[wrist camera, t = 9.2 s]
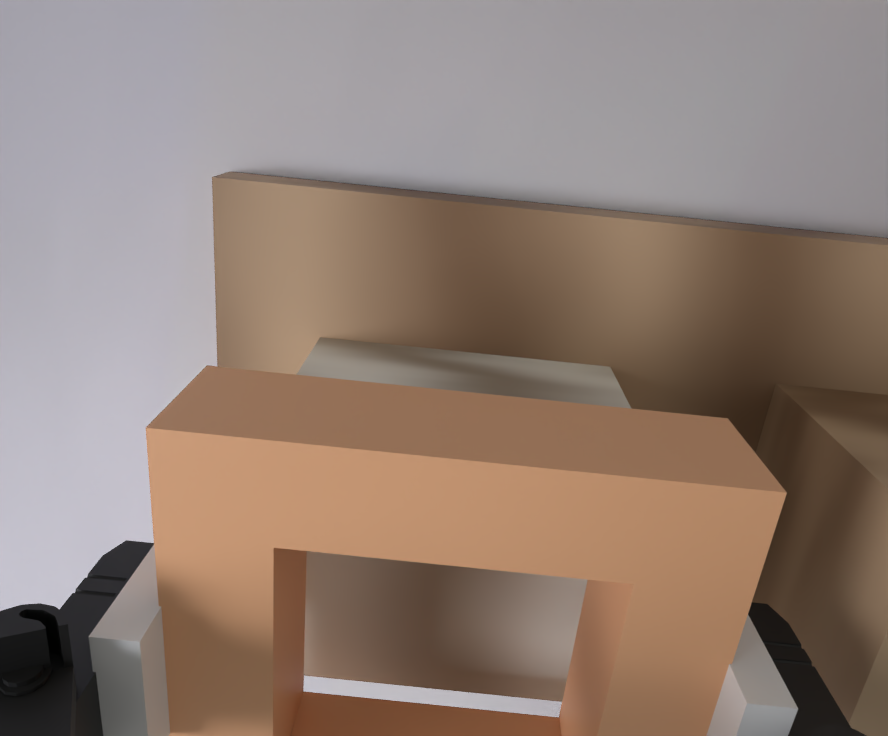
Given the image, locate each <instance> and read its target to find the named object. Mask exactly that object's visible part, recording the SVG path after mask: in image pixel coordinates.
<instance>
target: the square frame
mask: <svg viewBox="0 0 888 736" xmlns="http://www.w3.org/2000/svg"><path fill="white" fill-rule="evenodd" d="M146 438H147V452H148V465H149V479H150V493H151V507H152V521H153V534H154V548H155V562H156V576H157V590H158V603H159V606H161V610H162V624H163V638H164V652H165V666H166V680H167V695H168V709H169V723H170V734H169V736H706V735H707V732H708V729H709V726H710V723H711V720H712V717H713V714H714V710H715V707H716V704H717V701H718V698H719V695H720V692H721V688H722V685H723V682H724V679H725V676H726V673H727V670H728V666H729V664H732V662H733V659H734V656H735V653H736V650H737V647H738V644H739V641H740V637H741V634H742V631H743V628H744V625H745V622H746V619H747V616H748V612H749V609H750V606H751V603H752V600H753V597H754V594H755V591H756V588H757V584H758V581H759V578H760V575H761V572H762V569H763V566H764V563H765V559H766V556H767V553H768V550H769V547H770V544H771V541H772V538H773V535H774V531H775V528H776V525H777V522H778V519H779V516H780V513H781V510H782V506H783V503H784V500H785V497H786V494H787V492H786V491H785V490H784V488H783V487H782V486H781V485H780V483H779V482H778V481H777V480H776V478H775V477H774V476H773V475H772V473H771V472H770V471H769V470H768V468H767V467H766V466H765V465H764V463H763V462H762V461H761V460H760V458H759V457H758V456H757V454H756V453H755V452H754V451H753V449H752V448H751V447H750V446H749V444H748V443H747V442H746V441H745V439H744V438H743V437H742V436H741V434H740V433H739V432H738V431H737V429H736V428H735V427H734V426H733V424H732V423H731V422H730V421H729V419H728V418H720V417H710V416H700V415H690V414H680V413H670V412H660V411H651V410H641V409H631V408H621V407H611V406H601V405H591V404H581V403H572V402H562V401H552V400H542V399H532V398H522V397H512V396H502V395H493V394H483V393H473V392H463V391H453V390H443V389H433V388H423V387H414V386H404V385H394V384H384V383H374V382H364V381H354V380H345V379H335V378H325V377H315V376H305V375H295V374H285V373H275V372H266V371H256V370H246V369H236V368H226V367H216V366H206V367H205V368H204V369H203V370H202V371H201V372H200V373H199V374H198V375H197V376H196V377H195V378H194V379H193V380H192V381H191V382H190V383H189V384H188V385H187V386H186V387H185V388H184V389H183V390H182V391H181V392H180V393H179V395H178V396H177V397H176V398H175V399H174V400H173V401H172V402H171V403H170V404H169V405H168V406H167V407H166V408H165V409H164V410H163V411H162V412H161V413H160V414H159V415H158V416H157V417H156V418H155V419H154V420H153V421H152V422H151V423H150V424H149V425H148V426H147V427H146ZM307 551H311V552H321V553H331V554H340V555H350V556H360V557H370V558H380V559H390V560H400V561H409V562H419V563H429V564H439V565H449V566H459V567H469V568H478V569H488V570H498V571H508V572H518V573H528V574H538V575H547V576H557V577H567V578H577V579H587V585H586V590H585V595H584V600H583V604H582V609H581V614H580V619H579V624H578V628H577V633H576V638H575V643H574V648H573V652H572V657H571V662H570V667H569V671H568V676H567V681H566V686H565V691H564V695H563V700H562V705H561V710H560V715H559V718H558V717H548V716H538V715H528V714H518V713H509V712H499V711H489V710H479V709H469V708H459V707H449V706H440V705H430V704H420V703H410V702H400V701H390V700H381V699H371V698H361V697H351V696H341V695H331V694H321V693H312V692H303V681H304V641H305V601H306V560H307Z"/></svg>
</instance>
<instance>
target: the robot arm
mask: <svg viewBox="0 0 888 736" xmlns="http://www.w3.org/2000/svg"><path fill="white" fill-rule="evenodd" d="M169 734H170V723H169V709H168V695H167V680H166V666H165V652H164V638H163V624H162V610H161V606H159V603H158V590H157V576H156V562H155V548H154V543H146V542H136V541H125V542H123V543H122V544H120V545H119V546H117V547H115V548H114V549H112V550H111V551H109V552H108V553H106V554H105V555H103V556H102V557H101V559H100V560H99V561H98V562H97V564H96V565H95V566H94V567H93V569H92V570H91V571H90V572H89V574H88V577H87V578H85V579H84V580H83V581H82V582H81V584H80V585H79V586H78V587H77V589H76V592H75V593H73V594H72V595H71V596H70V597H69V598H68V600H67V601H66V602H65V603H64V605H63V606H62V607H61V608H60V610H59V609H58V608H56V607H54V606H50V605H45V604H27V605H19V606H16V607H13V608H9V609H6V610H2V611H0V736H169ZM706 736H866V735H865V734H863V733H861V732H859V731H857V730H855V729H852V728H851V726H850V725H849V723H848V721H847V720H846V718H845V716H844V715H843V713H842V711H841V710H840V708H839V706H838V705H837V703H836V701H835V700H834V698H833V696H832V695H831V693H830V691H829V690H828V688H827V686H826V685H825V683H824V681H823V680H822V678H821V676H820V675H819V673H818V671H817V670H816V668H815V667H814V666H812V661H811V660H810V658H809V656H808V655H807V653H806V651H805V650H804V649H802V648H801V643H800V641H799V640H798V638H797V636H796V635H795V633H794V631H793V630H792V628H791V626H790V625H789V623H788V622H787V621H786V620H784V619H783V618H782V617H781V616H780V615H779V614H778V613H777V612H776V611H775V610H773V609H772V608H771V607H770V606H769V605H768V604H764V603H754V602H752V603H751V606H750V609H749V612H748V616H747V619H746V622H745V625H744V628H743V631H742V634H741V637H740V641H739V644H738V647H737V650H736V653H735V656H734V659H733V662H732V664H729V666H728V670H727V673H726V676H725V679H724V682H723V685H722V688H721V692H720V695H719V698H718V701H717V704H716V707H715V710H714V714H713V717H712V720H711V723H710V726H709V729H708V732H707V735H706Z"/></svg>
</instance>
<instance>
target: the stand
mask: <svg viewBox="0 0 888 736" xmlns="http://www.w3.org/2000/svg"><path fill="white" fill-rule="evenodd" d="M212 189H213V224H214V259H215V294H216V329H217V364H218V367H226V368H236V369H246V370H256V371H266V372H275V373H285V374H295V375H305V376H315V377H325V378H335V379H345V380H354V381H364V382H374V383H384V384H394V385H404V386H414V387H423V388H433V389H443V390H453V391H463V392H473V393H483V394H493V395H502V396H512V397H522V398H532V399H542V400H552V401H562V402H572V403H581V404H591V405H601V406H611V407H621V408H631V409H641V410H651V411H660V412H670V413H680V414H690V415H700V416H710V417H720V418H728V419H729V421H730V422H731V423H732V424H733V426H734V427H735V428H736V429H737V431H738V432H739V433H740V434H741V436H742V437H743V438H744V439H745V441H746V442H747V443H748V444H749V446H750V447H751V448H752V449H753V451H754V452H755V453H756V454H757V456H758V457H759V458H760V460H761V461H762V462H763V463H764V465H765V466H766V467H767V468H768V470H769V471H770V472H771V473H772V475H773V476H774V477H775V478H776V480H777V481H778V482H779V483H780V485H781V486H782V487H783V488H784V490H785V491H786V492H787V494H786V497H785V500H784V503H783V506H782V510H781V513H780V516H779V519H778V522H777V525H776V528H775V531H774V535H773V538H772V541H771V544H770V547H769V550H768V553H767V556H766V559H765V563H764V566H763V569H762V572H761V575H760V578H759V581H758V584H757V588H756V591H755V594H754V597H753V600H752V602H754V603H764V604H768V605H769V606H770V607H771V608H772V609H773V610H775V611H776V612H777V613H778V614H779V615H780V616H781V617H782V618H783V619H784V620H786V621H787V622H788V623H789V625H790V626H791V628H792V630H793V631H794V633H795V635H796V636H797V638H798V640H799V641H800V643H801V648H802V649H804V650H805V651H806V653H807V655H808V656H809V658H810V660H811V661H812V666H814V667H815V668H816V670H817V671H818V673H819V675H820V676H821V678H822V680H823V681H824V683H825V685H826V686H827V688H828V690H829V691H830V693H831V695H832V696H833V698H834V700H835V701H836V703H837V705H838V706H839V708H840V710H841V711H842V713H843V715H844V716H845V718H846V720H847V721H848V723H849V725H850V726H851V728H852V729H855V730H857V731H859V732H861V733H863V734H865V735H866V736H888V238H881V237H871V236H861V235H851V234H841V233H831V232H821V231H811V230H801V229H792V228H782V227H772V226H762V225H752V224H742V223H732V222H722V221H713V220H703V219H693V218H683V217H673V216H663V215H653V214H643V213H633V212H624V211H614V210H604V209H594V208H584V207H574V206H564V205H554V204H545V203H535V202H525V201H515V200H505V199H495V198H485V197H475V196H465V195H456V194H446V193H436V192H426V191H416V190H406V189H396V188H386V187H377V186H367V185H357V184H347V183H337V182H327V181H317V180H307V179H297V178H288V177H278V176H268V175H258V174H248V173H238V172H227V173H224V174H221V175H217V176H214V177H212ZM586 585H587V579H577V578H567V577H557V576H547V575H538V574H528V573H518V572H508V571H498V570H488V569H478V568H469V567H459V566H449V565H439V564H429V563H419V562H409V561H400V560H390V559H380V558H370V557H360V556H350V555H340V554H331V553H321V552H311V551H307V560H306V601H305V641H304V675H305V676H315V677H325V678H335V679H345V680H355V681H364V682H374V683H384V684H394V685H404V686H413V687H423V688H433V689H443V690H453V691H462V692H472V693H482V694H492V695H502V696H511V697H521V698H531V699H541V700H551V701H561V702H562V700H563V695H564V691H565V686H566V681H567V676H568V671H569V667H570V662H571V657H572V652H573V648H574V643H575V638H576V633H577V628H578V624H579V619H580V614H581V609H582V604H583V600H584V595H585V590H586Z"/></svg>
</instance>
